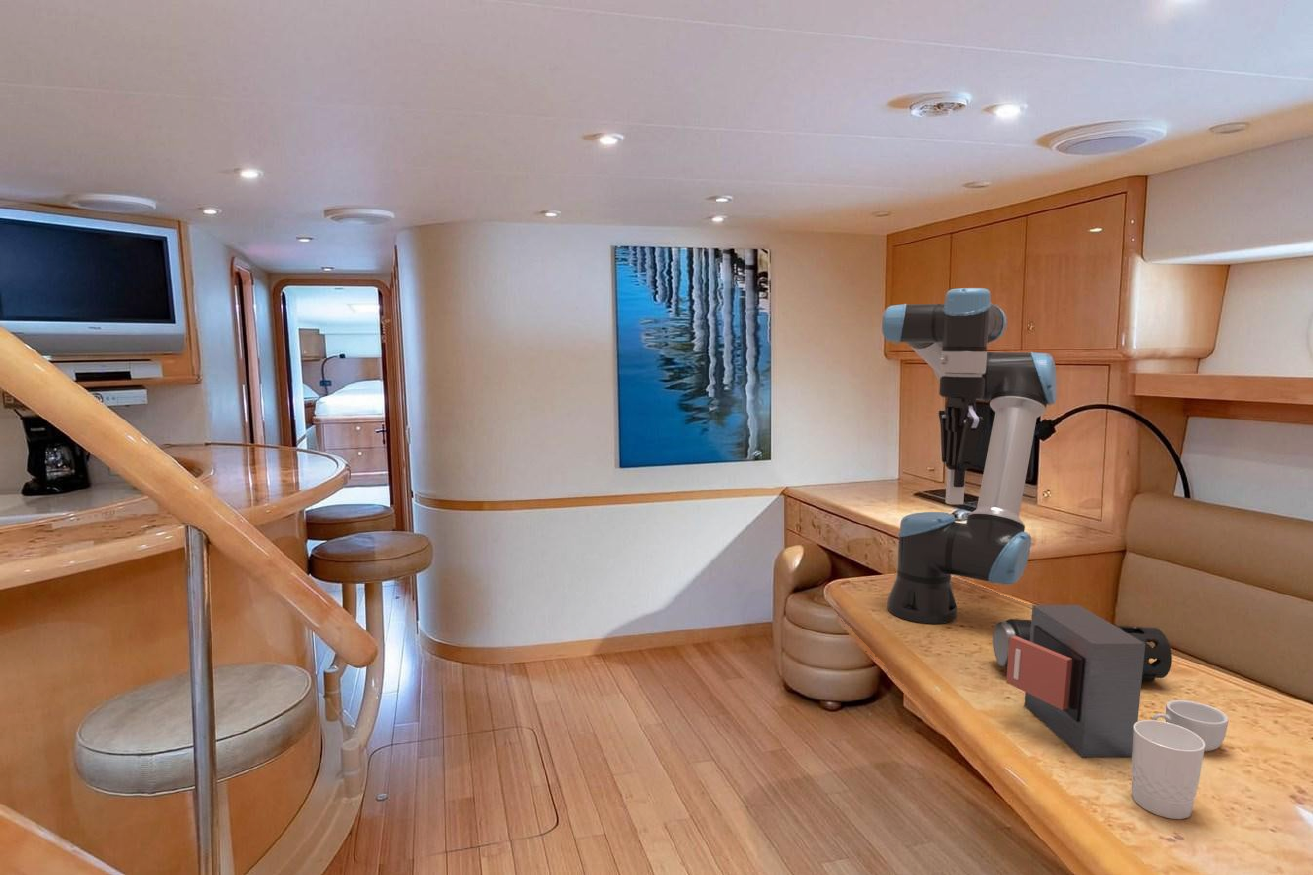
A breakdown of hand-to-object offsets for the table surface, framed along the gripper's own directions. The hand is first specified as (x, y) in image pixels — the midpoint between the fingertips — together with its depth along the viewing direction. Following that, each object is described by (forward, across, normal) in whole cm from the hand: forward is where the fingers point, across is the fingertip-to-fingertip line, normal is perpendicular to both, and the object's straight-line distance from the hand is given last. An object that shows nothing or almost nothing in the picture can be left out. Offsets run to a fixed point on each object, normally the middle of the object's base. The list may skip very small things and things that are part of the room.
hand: (954, 503), depth 135 cm
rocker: (+26, +22, +5) cm, 35 cm away
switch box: (+32, +22, +12) cm, 41 cm away
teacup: (+33, +26, +27) cm, 50 cm away
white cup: (+33, +41, +12) cm, 54 cm away
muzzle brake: (+33, +3, +24) cm, 41 cm away
